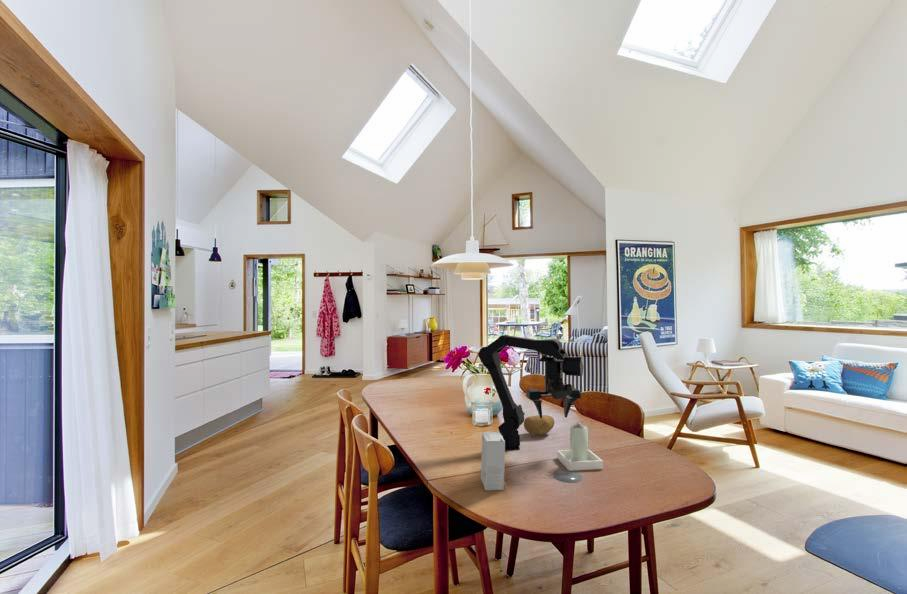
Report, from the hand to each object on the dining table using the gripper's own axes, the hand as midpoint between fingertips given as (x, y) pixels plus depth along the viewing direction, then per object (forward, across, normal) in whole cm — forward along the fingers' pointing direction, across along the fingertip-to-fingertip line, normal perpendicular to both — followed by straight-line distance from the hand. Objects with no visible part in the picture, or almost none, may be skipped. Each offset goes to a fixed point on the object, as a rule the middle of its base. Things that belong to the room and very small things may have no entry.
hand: (553, 417), depth 160 cm
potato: (+13, +2, +23) cm, 27 cm away
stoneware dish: (+13, +5, -12) cm, 18 cm away
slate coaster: (+13, -3, -22) cm, 26 cm away
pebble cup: (+12, +5, -12) cm, 18 cm away
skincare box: (+13, -27, -24) cm, 39 cm away
